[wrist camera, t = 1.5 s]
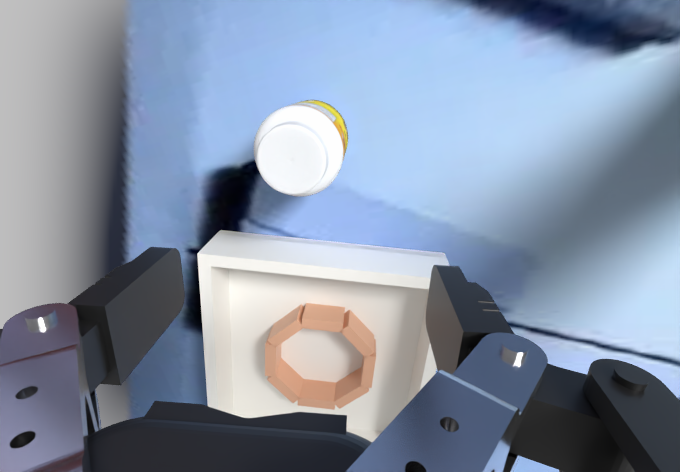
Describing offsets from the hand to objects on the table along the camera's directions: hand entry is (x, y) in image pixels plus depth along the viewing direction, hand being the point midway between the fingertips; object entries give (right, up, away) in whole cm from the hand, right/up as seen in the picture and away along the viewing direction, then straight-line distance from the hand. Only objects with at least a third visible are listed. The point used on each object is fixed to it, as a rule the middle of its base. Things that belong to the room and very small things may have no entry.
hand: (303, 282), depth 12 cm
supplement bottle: (-1, +10, +19) cm, 21 cm away
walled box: (0, -9, +26) cm, 28 cm away
